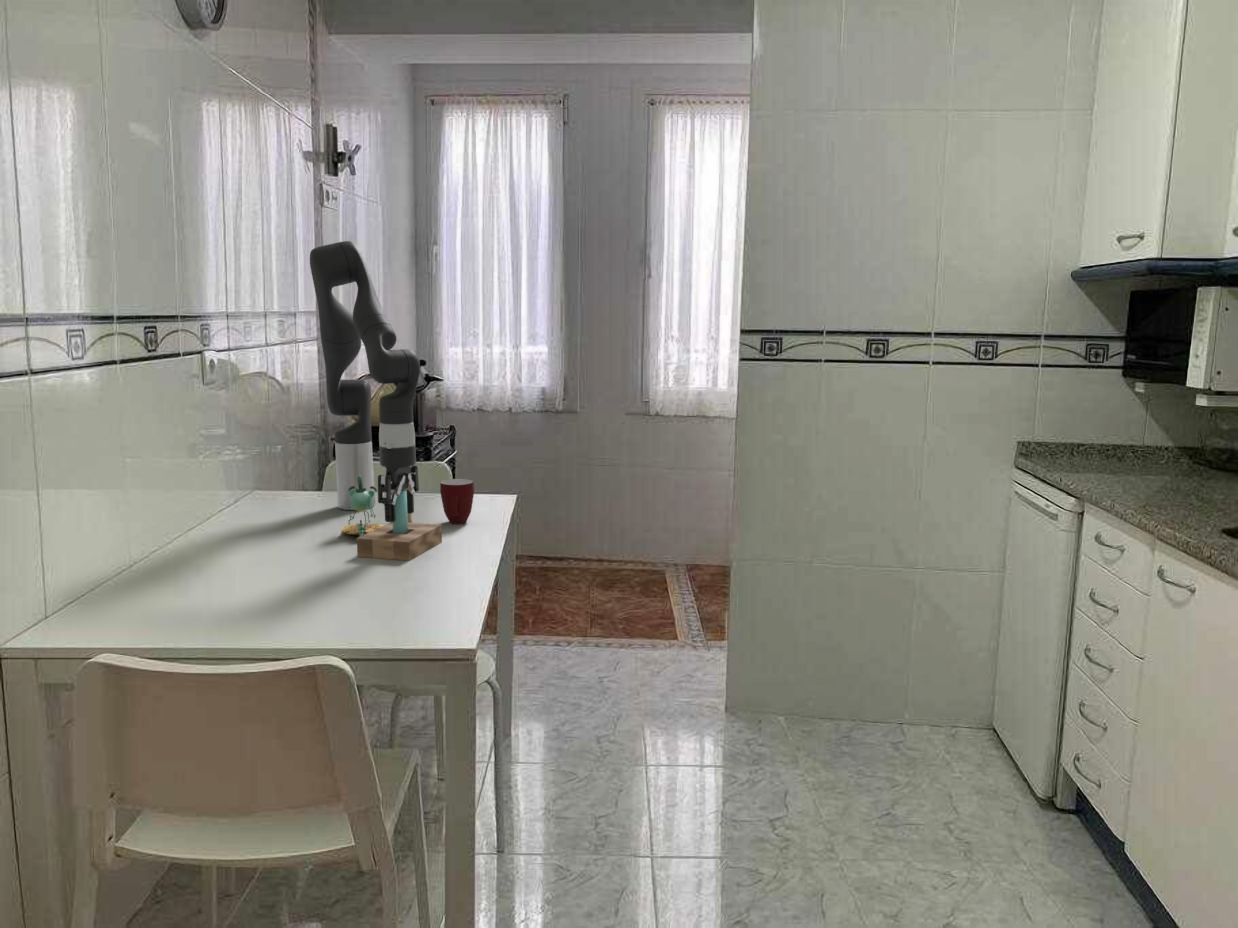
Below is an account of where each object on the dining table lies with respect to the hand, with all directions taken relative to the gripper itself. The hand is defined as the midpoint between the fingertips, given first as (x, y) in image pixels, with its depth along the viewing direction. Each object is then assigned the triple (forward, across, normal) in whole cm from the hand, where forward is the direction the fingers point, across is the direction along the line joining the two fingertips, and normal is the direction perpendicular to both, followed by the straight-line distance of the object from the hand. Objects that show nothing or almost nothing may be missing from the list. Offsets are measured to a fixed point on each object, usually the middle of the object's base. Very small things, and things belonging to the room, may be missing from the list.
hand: (399, 517), depth 210 cm
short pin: (+7, -12, -5) cm, 15 cm away
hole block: (+7, 0, 0) cm, 7 cm away
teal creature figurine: (+8, -10, -15) cm, 20 cm away
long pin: (+7, 0, 0) cm, 7 cm away
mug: (+7, -26, +2) cm, 27 cm away
